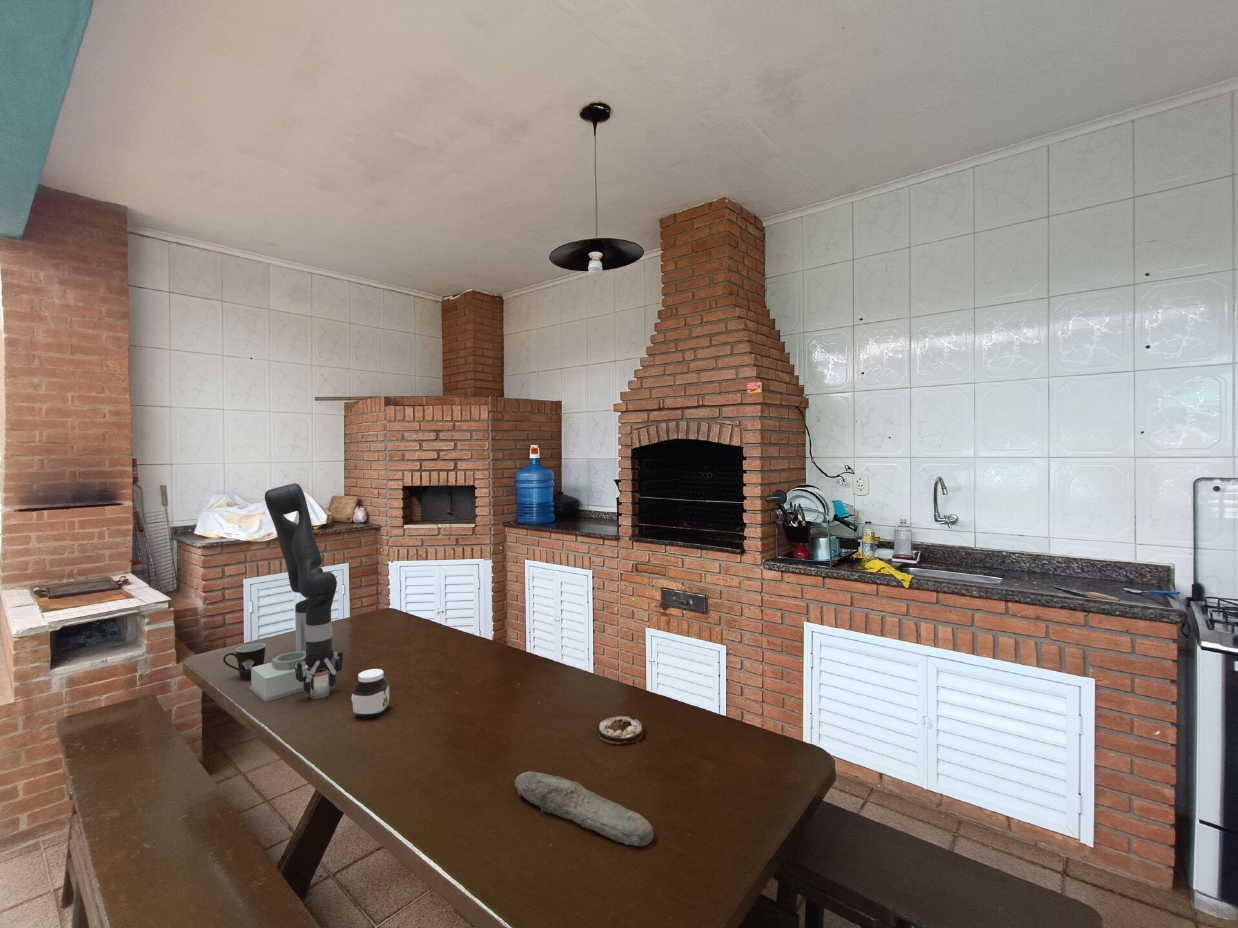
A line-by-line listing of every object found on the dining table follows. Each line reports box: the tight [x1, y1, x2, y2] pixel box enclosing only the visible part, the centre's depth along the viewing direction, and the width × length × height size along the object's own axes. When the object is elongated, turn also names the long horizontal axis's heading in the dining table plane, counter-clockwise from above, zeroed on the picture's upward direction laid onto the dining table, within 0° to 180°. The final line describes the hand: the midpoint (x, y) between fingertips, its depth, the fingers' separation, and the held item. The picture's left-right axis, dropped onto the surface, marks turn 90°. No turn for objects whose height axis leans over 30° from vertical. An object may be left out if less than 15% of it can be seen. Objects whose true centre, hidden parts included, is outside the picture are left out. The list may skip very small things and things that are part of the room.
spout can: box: [310, 667, 330, 700], centre depth 179 cm, size 5×5×10 cm
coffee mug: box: [222, 642, 267, 681], centre depth 194 cm, size 12×9×10 cm
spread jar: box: [351, 668, 390, 719], centre depth 168 cm, size 12×11×12 cm
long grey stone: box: [514, 771, 654, 847], centre depth 120 cm, size 35×5×10 cm
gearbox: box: [248, 651, 330, 703], centre depth 187 cm, size 22×15×10 cm
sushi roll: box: [596, 715, 645, 746], centre depth 153 cm, size 15×15×4 cm
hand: (319, 689), depth 179 cm, fingers open, 6 cm apart
